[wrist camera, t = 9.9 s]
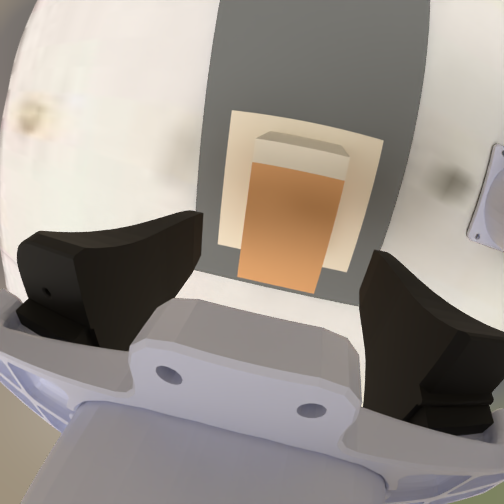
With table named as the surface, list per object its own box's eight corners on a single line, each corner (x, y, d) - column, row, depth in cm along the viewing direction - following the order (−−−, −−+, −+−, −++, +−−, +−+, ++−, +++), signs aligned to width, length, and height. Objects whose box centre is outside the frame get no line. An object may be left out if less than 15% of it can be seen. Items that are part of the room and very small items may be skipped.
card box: (315, 253, 21) (313, 293, 17) (254, 240, 22) (237, 276, 17) (340, 145, 17) (350, 157, 13) (270, 130, 18) (255, 138, 13)
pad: (383, 140, 16) (383, 140, 16) (346, 270, 21) (346, 272, 21) (232, 110, 18) (231, 110, 17) (218, 243, 23) (217, 244, 22)
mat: (425, -61, 7) (427, -64, 7) (357, 301, 23) (358, 306, 23) (244, -92, 9) (242, -95, 9) (195, 266, 25) (193, 269, 24)
